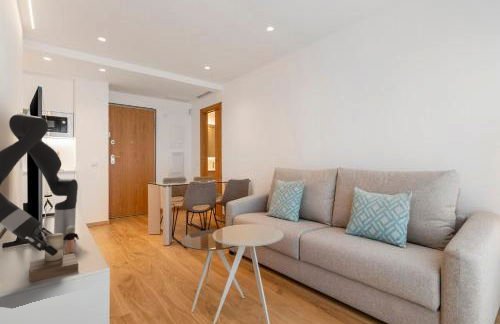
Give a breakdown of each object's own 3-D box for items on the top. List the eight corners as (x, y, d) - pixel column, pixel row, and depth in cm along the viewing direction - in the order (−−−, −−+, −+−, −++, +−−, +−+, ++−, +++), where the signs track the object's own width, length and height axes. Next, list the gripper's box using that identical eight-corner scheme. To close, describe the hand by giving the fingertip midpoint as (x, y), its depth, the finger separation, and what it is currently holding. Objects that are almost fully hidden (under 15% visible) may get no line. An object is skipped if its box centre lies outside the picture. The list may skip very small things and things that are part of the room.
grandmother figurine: (66, 256, 111) (67, 227, 111) (59, 255, 112) (60, 227, 112) (81, 250, 118) (81, 224, 119) (74, 250, 119) (75, 223, 119)
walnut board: (29, 269, 97) (30, 261, 97) (73, 260, 106) (73, 253, 106) (29, 281, 86) (30, 273, 86) (78, 271, 96) (78, 263, 96)
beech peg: (43, 268, 96) (44, 234, 97) (61, 264, 100) (62, 232, 100) (44, 273, 92) (45, 238, 92) (63, 269, 96) (64, 235, 96)
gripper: (23, 219, 87) (63, 248, 92) (36, 212, 100) (70, 237, 105) (3, 236, 84) (44, 264, 89) (19, 227, 97) (54, 252, 102)
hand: (58, 250), depth 97 cm, fingers open, 8 cm apart
